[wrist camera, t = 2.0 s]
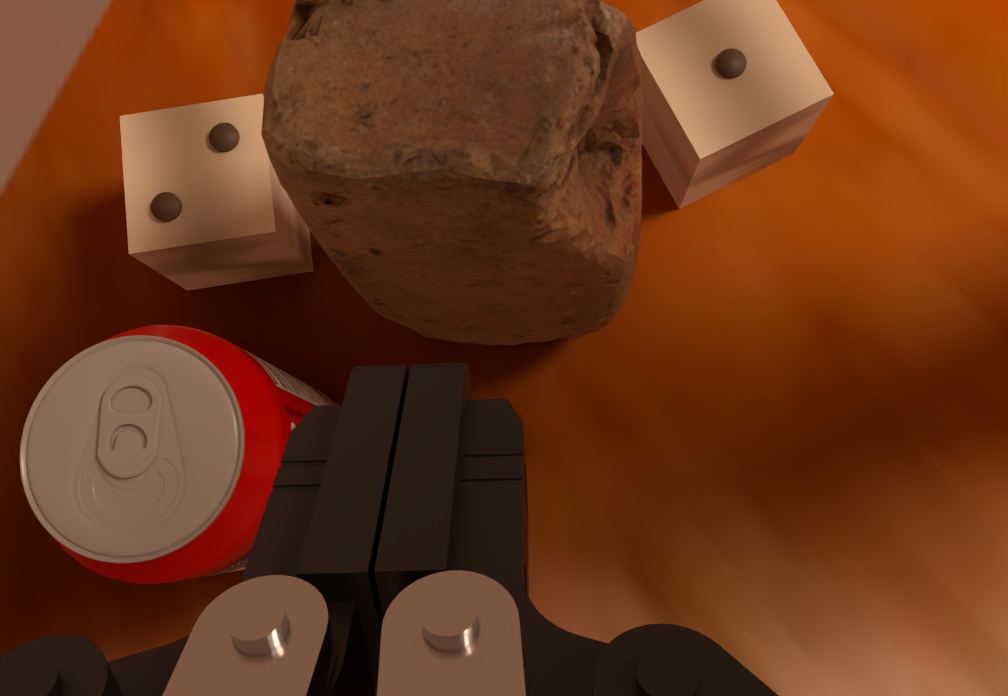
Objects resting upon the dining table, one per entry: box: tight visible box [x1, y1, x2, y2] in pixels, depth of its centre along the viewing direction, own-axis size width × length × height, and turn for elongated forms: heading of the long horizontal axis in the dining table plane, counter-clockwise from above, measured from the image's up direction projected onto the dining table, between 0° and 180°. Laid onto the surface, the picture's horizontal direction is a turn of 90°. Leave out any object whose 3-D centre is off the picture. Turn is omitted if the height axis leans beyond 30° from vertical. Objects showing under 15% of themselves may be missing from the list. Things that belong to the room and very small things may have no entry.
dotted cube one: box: [636, 0, 834, 209], centre depth 39 cm, size 6×6×6 cm
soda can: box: [20, 325, 338, 584], centre depth 33 cm, size 8×8×15 cm
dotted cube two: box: [120, 94, 314, 290], centre depth 40 cm, size 6×6×6 cm
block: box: [261, 0, 643, 346], centre depth 32 cm, size 11×8×20 cm
